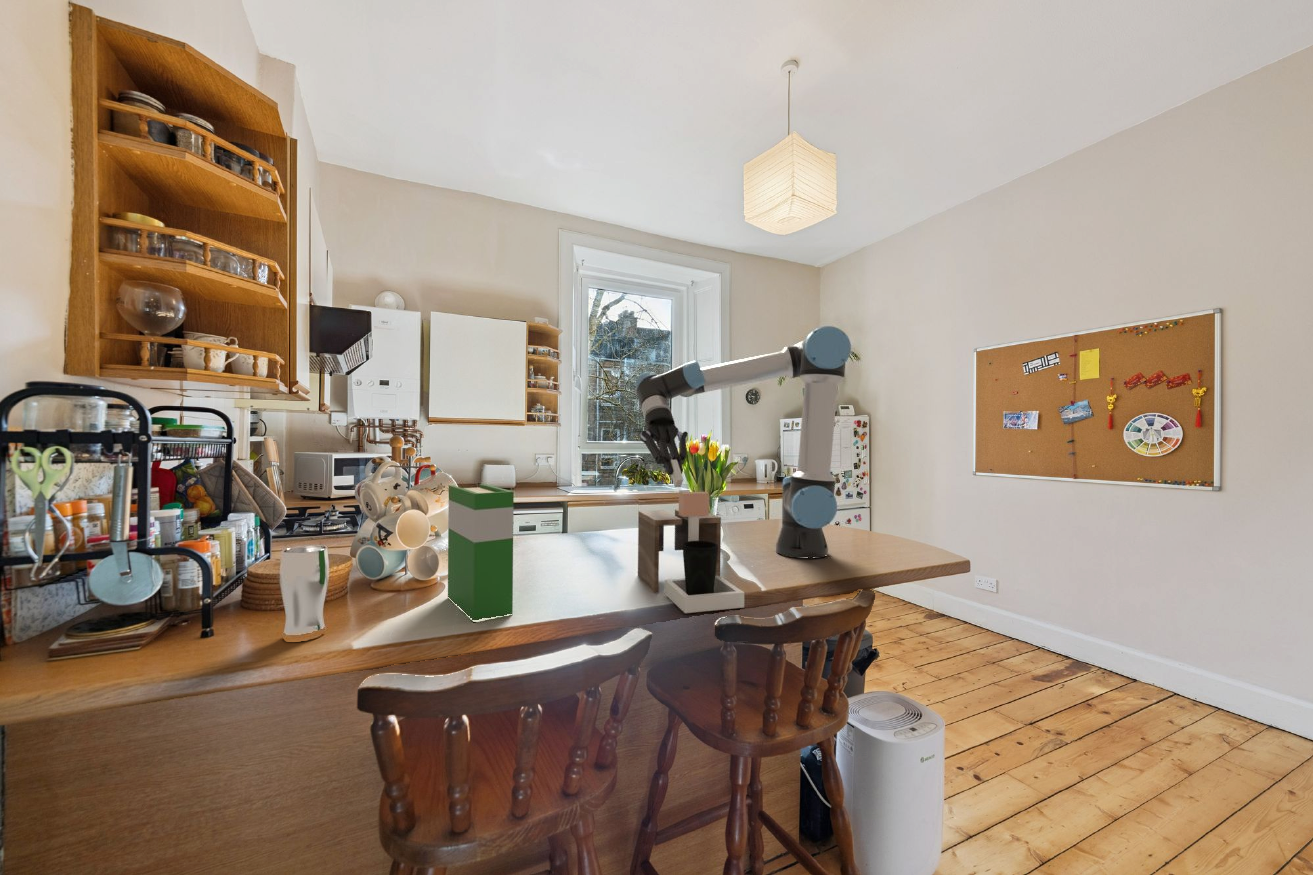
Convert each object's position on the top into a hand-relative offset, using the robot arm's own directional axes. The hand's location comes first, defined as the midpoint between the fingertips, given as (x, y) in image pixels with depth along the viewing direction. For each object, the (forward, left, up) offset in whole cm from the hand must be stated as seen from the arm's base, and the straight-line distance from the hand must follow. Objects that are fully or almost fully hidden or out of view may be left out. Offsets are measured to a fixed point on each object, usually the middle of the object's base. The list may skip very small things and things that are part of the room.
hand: (679, 483), depth 123 cm
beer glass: (+73, +14, -24) cm, 78 cm away
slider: (0, +16, -24) cm, 29 cm away
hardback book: (+45, +6, -24) cm, 52 cm away
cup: (0, +15, -24) cm, 28 cm away
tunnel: (0, 0, -24) cm, 24 cm away
